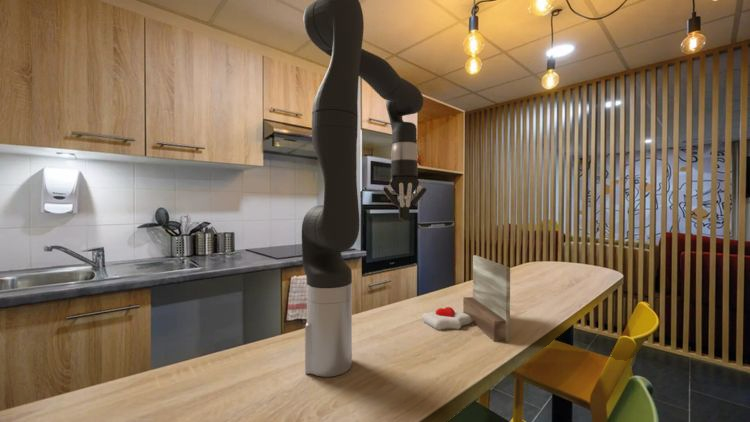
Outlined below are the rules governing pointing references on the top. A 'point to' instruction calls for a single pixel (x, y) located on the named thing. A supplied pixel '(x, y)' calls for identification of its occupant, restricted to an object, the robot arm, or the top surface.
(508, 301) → the display ledge
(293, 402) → the top surface
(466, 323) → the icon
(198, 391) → the top surface
